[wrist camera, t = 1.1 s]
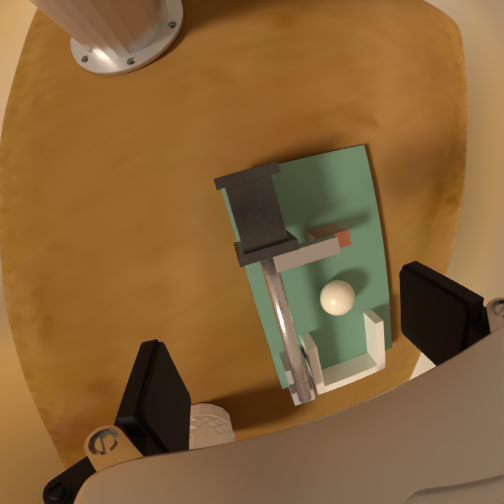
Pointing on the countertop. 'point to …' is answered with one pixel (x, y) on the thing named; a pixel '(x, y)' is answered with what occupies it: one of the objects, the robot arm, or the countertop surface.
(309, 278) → the board
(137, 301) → the countertop surface
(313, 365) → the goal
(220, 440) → the white cup
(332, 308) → the ball
